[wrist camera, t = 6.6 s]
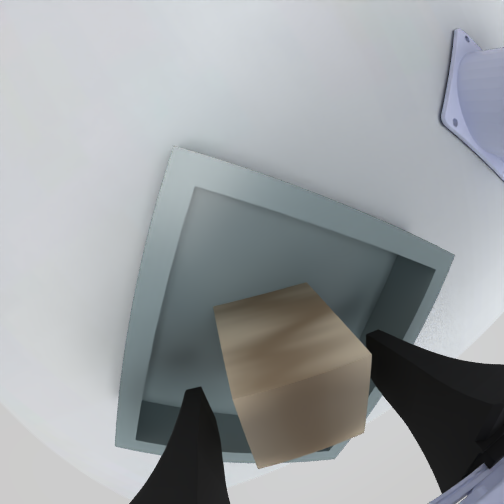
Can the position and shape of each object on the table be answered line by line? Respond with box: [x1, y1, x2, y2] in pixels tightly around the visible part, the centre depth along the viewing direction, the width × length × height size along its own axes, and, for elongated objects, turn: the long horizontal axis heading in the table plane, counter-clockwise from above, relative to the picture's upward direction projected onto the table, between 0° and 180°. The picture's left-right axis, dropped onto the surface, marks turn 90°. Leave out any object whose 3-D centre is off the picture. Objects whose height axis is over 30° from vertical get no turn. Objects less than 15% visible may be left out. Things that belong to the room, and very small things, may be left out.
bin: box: [115, 146, 455, 463], centre depth 14 cm, size 13×14×4 cm
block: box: [213, 282, 372, 469], centre depth 12 cm, size 4×4×6 cm
